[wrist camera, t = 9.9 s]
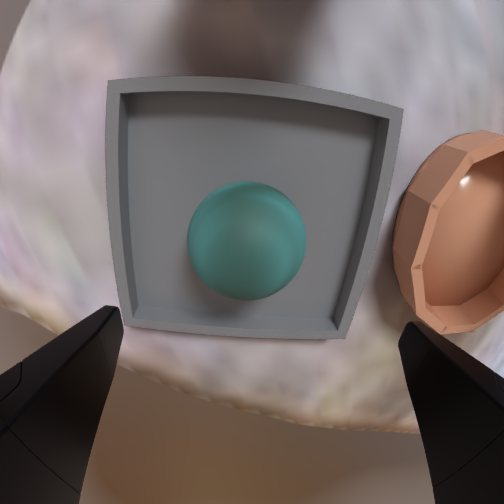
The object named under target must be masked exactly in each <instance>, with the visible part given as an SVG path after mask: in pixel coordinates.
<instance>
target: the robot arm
mask: <svg viewBox="0 0 504 504" xmlns="http://www.w3.org/2000/svg"><path fill="white" fill-rule="evenodd" d="M123 333H124V329H123V324H122V319H121V314H120V310H119V308H118V307H116V306H109V305H106V306H104V307H102V308H100V309H99V310H97V311H96V312H94V313H93V314H91V315H90V316H88V317H86V318H85V319H83V320H82V321H80V322H79V323H77V324H76V325H74V326H73V327H71V328H70V329H68V330H66V331H65V332H63V333H62V334H60V335H59V336H57V337H56V338H54V339H53V340H52V341H50V342H48V343H47V344H45V345H44V346H42V347H41V348H40V349H38V350H37V351H35V352H34V353H32V354H31V355H29V356H28V357H26V358H25V359H23V361H22V362H19V363H17V364H16V365H14V366H13V367H12V368H10V369H9V370H7V371H5V372H4V373H2V374H1V375H0V504H79V500H80V493H81V490H82V486H83V481H84V477H85V473H86V468H87V465H88V460H89V457H90V453H91V449H92V445H93V442H94V438H95V435H96V432H97V428H98V425H99V421H100V418H101V415H102V411H103V408H104V405H105V402H106V399H107V396H108V392H109V390H110V386H111V383H112V380H113V377H114V373H115V369H116V364H117V359H118V355H119V351H120V346H121V342H122V338H123ZM398 347H399V351H400V356H401V360H402V365H403V369H404V374H405V379H406V383H407V387H408V391H409V394H410V397H411V400H412V404H413V407H414V411H415V414H416V418H417V422H418V425H419V429H420V433H421V437H422V441H423V445H424V449H425V453H426V458H427V462H428V467H429V472H430V477H431V482H432V487H433V493H434V499H435V504H504V378H503V377H501V376H500V375H498V374H497V373H494V371H493V370H491V369H490V368H488V367H487V366H485V365H484V364H482V363H481V362H480V361H478V360H477V359H475V358H474V357H472V356H471V355H469V354H468V353H466V352H465V351H464V350H462V349H461V348H459V347H458V346H456V345H455V344H453V343H452V342H450V341H449V340H447V339H446V338H444V337H443V336H441V335H440V334H438V333H437V332H435V331H434V330H432V329H431V328H429V327H428V326H426V325H425V324H423V323H422V322H420V321H410V322H408V323H407V325H406V327H405V329H404V331H403V333H402V335H401V337H400V339H399V343H398Z"/></svg>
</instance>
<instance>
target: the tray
mask: <svg viewBox="0 0 504 504" xmlns="http://www.w3.org/2000/svg"><path fill="white" fill-rule="evenodd" d="M402 117H403V109H402V108H398V107H395V106H392V105H388V104H385V103H381V102H378V101H374V100H370V99H366V98H362V97H358V96H354V95H350V94H345V93H341V92H336V91H331V90H326V89H321V88H315V87H309V86H303V85H297V84H290V83H283V82H275V81H267V80H257V79H246V78H232V77H212V76H161V77H141V78H128V79H117V80H108V86H107V101H106V127H105V163H106V190H107V206H108V219H109V230H110V239H111V248H112V256H113V264H114V271H115V277H116V284H117V290H118V296H119V301H120V307H121V312H122V317H123V322H124V325H125V326H132V327H140V328H148V329H156V330H165V331H174V332H184V333H195V334H206V335H219V336H234V337H252V338H277V339H345V338H346V335H347V332H348V330H349V327H350V324H351V321H352V319H353V316H354V313H355V310H356V307H357V304H358V301H359V298H360V295H361V292H362V289H363V286H364V283H365V280H366V277H367V274H368V270H369V267H370V264H371V260H372V257H373V253H374V250H375V246H376V243H377V239H378V235H379V231H380V228H381V224H382V220H383V216H384V212H385V207H386V203H387V199H388V194H389V190H390V185H391V180H392V176H393V171H394V165H395V160H396V155H397V149H398V143H399V137H400V131H401V124H402ZM241 181H253V182H259V183H263V184H266V185H269V186H271V187H273V188H275V189H277V190H279V191H280V192H282V193H283V194H284V195H285V196H287V197H288V198H289V199H290V200H291V202H292V203H293V204H294V205H295V207H296V208H297V209H298V211H299V213H300V215H301V217H302V220H303V223H304V226H305V230H306V252H305V256H304V259H303V262H302V265H301V267H300V269H299V271H298V272H297V274H296V275H295V277H294V278H293V279H292V281H291V282H290V283H289V284H288V285H287V286H285V287H284V288H283V289H282V290H280V291H278V292H277V293H275V294H273V295H271V296H269V297H266V298H263V299H259V300H252V301H242V300H235V299H231V298H228V297H225V296H222V295H220V294H218V293H216V292H215V291H213V290H212V289H210V288H209V287H208V286H207V285H206V284H205V283H204V282H203V281H202V280H201V279H200V278H199V276H198V275H197V274H196V272H195V270H194V268H193V266H192V264H191V261H190V258H189V255H188V249H187V232H188V228H189V224H190V221H191V218H192V216H193V214H194V212H195V210H196V209H197V207H198V206H199V204H200V203H201V202H202V201H203V200H204V199H205V198H206V197H207V196H208V195H209V194H210V193H212V192H213V191H215V190H217V189H218V188H220V187H222V186H225V185H227V184H230V183H234V182H241Z"/></svg>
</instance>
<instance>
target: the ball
mask: <svg viewBox="0 0 504 504" xmlns="http://www.w3.org/2000/svg"><path fill="white" fill-rule="evenodd" d="M187 249H188V255H189V258H190V261H191V264H192V266H193V268H194V270H195V272H196V274H197V275H198V276H199V278H200V279H201V280H202V281H203V282H204V283H205V284H206V285H207V286H208V287H209V288H210V289H212V290H213V291H215V292H216V293H218V294H220V295H222V296H225V297H228V298H231V299H235V300H242V301H252V300H259V299H263V298H266V297H269V296H271V295H273V294H275V293H277V292H278V291H280V290H282V289H283V288H284V287H285V286H287V285H288V284H289V283H290V282H291V281H292V279H293V278H294V277H295V275H296V274H297V272H298V271H299V269H300V267H301V265H302V262H303V259H304V256H305V252H306V230H305V226H304V223H303V220H302V217H301V215H300V213H299V211H298V209H297V208H296V207H295V205H294V204H293V203H292V202H291V200H290V199H289V198H288V197H287V196H285V195H284V194H283V193H282V192H280V191H279V190H277V189H275V188H273V187H271V186H269V185H266V184H263V183H259V182H253V181H241V182H234V183H230V184H227V185H225V186H222V187H220V188H218V189H217V190H215V191H213V192H212V193H210V194H209V195H208V196H207V197H206V198H205V199H204V200H203V201H202V202H201V203H200V204H199V206H198V207H197V209H196V210H195V212H194V214H193V216H192V218H191V221H190V224H189V228H188V232H187Z"/></svg>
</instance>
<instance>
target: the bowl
mask: <svg viewBox="0 0 504 504" xmlns="http://www.w3.org/2000/svg"><path fill="white" fill-rule="evenodd" d="M392 257H393V265H394V270H395V274H396V278H397V280H398V282H399V285H400V291H401V294H402V295H403V297H404V298H405V300H406V301H407V302H408V304H409V305H410V307H411V308H412V309H413V311H414V312H415V314H416V315H417V316H418V317H419V318H421V319H422V320H423V321H424V322H426V323H427V324H428V325H429V326H431V327H432V328H433V329H434V330H435V331H437V332H438V333H439V334H440V335H442V334H452V333H461V332H469V331H474V330H475V329H477V328H478V327H480V326H481V325H483V324H484V323H486V322H488V321H489V320H491V319H492V318H493V317H495V316H496V315H498V314H499V313H501V312H502V311H504V136H502V135H498V134H495V133H491V132H486V131H482V130H480V131H478V132H475V133H466V134H462V135H458V136H456V137H454V138H451V139H449V140H448V141H446V142H445V143H443V144H442V145H440V146H439V147H438V148H437V149H436V150H434V151H433V152H432V153H431V154H430V155H429V156H428V158H427V159H426V160H425V161H424V162H423V163H422V165H421V166H420V168H419V169H418V171H417V172H416V174H415V175H414V176H413V178H412V180H411V182H410V184H409V186H408V188H407V190H406V192H405V195H404V197H403V199H402V202H401V204H400V208H399V211H398V214H397V218H396V223H395V227H394V234H393V243H392Z"/></svg>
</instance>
